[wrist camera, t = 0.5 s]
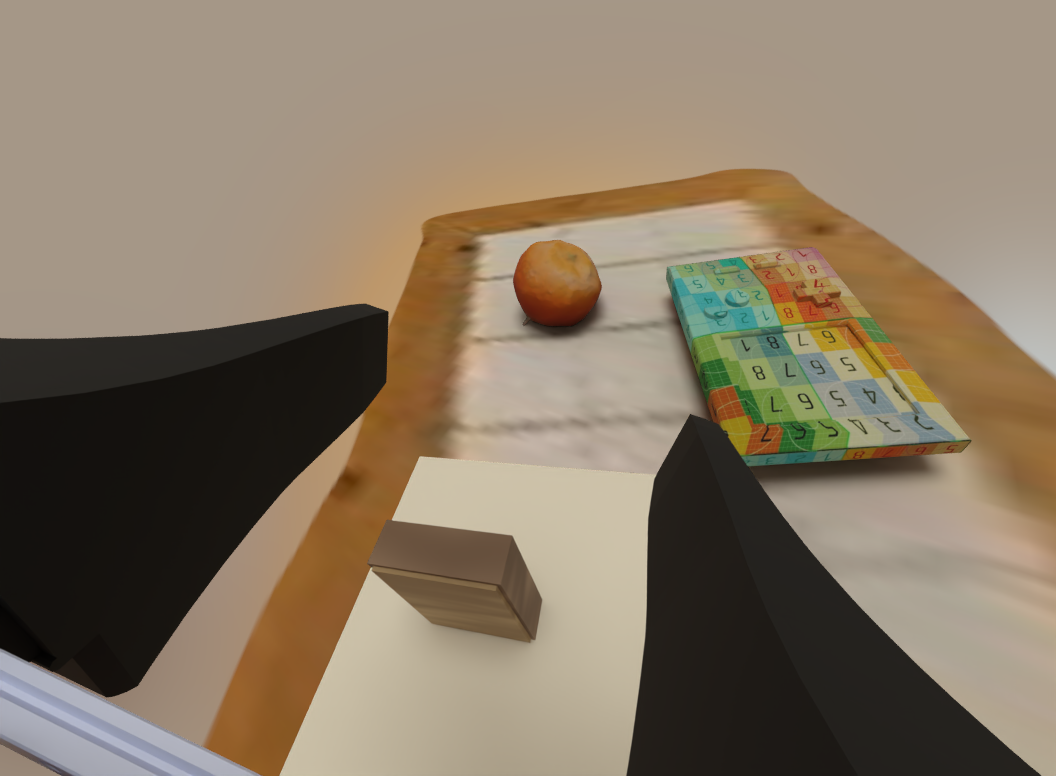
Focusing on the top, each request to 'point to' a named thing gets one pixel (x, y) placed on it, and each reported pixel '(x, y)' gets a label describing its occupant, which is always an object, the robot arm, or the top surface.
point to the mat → (497, 640)
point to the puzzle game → (802, 364)
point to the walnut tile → (460, 578)
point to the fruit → (556, 283)
